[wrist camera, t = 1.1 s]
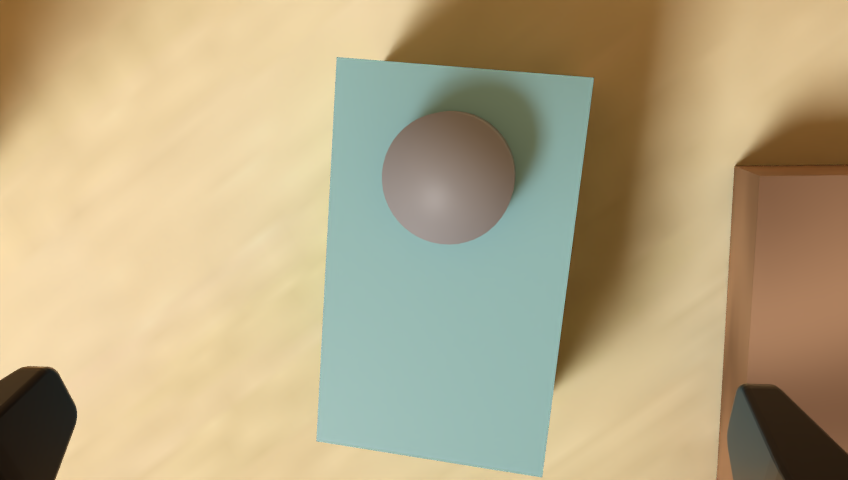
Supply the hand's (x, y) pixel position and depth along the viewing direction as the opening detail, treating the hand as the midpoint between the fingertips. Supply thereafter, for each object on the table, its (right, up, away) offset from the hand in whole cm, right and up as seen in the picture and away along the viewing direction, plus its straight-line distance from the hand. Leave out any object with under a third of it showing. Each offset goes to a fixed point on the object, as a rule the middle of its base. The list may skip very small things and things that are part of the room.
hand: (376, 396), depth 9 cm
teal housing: (+2, +2, +13) cm, 13 cm away
